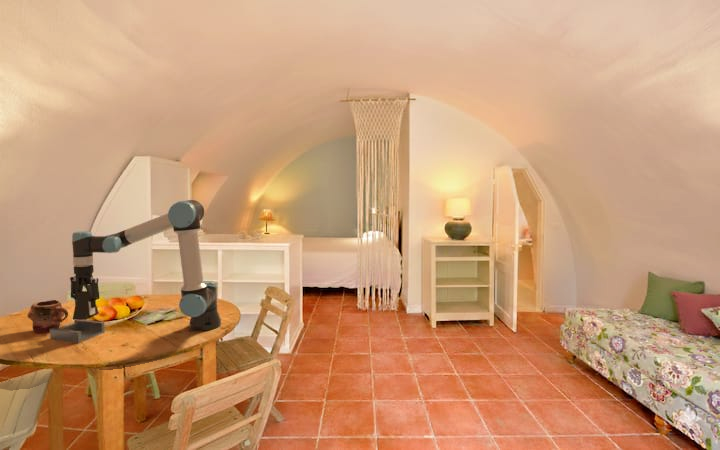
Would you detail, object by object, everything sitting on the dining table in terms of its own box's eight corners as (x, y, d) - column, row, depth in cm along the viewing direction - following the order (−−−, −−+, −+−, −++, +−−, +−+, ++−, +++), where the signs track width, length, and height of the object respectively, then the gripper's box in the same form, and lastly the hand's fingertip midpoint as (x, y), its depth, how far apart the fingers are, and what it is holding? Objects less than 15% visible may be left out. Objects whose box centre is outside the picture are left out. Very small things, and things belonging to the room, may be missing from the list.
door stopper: (85, 320, 184) (84, 294, 183) (72, 319, 184) (71, 293, 183) (98, 313, 193) (97, 289, 192) (86, 313, 193) (85, 288, 192)
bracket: (104, 332, 196) (104, 322, 195) (78, 343, 182) (77, 332, 182) (77, 329, 200) (77, 319, 199) (50, 339, 186) (49, 329, 185)
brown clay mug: (79, 326, 203) (77, 299, 202) (61, 335, 191) (59, 307, 190) (40, 325, 203) (38, 298, 202) (19, 334, 191) (17, 306, 190)
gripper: (107, 264, 187) (109, 313, 190) (73, 262, 192) (76, 309, 194) (93, 268, 180) (96, 318, 183) (58, 265, 185) (61, 314, 187)
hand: (85, 313), depth 188 cm, fingers closed on door stopper, 6 cm apart
